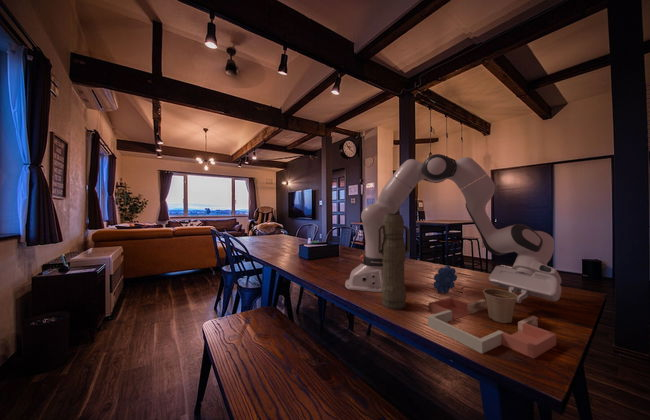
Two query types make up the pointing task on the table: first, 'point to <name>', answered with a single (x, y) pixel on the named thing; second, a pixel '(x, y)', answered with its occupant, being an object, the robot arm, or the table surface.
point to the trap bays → (526, 343)
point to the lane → (481, 305)
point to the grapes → (445, 279)
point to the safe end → (464, 333)
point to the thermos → (393, 260)
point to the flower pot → (500, 304)
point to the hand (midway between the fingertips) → (514, 301)
